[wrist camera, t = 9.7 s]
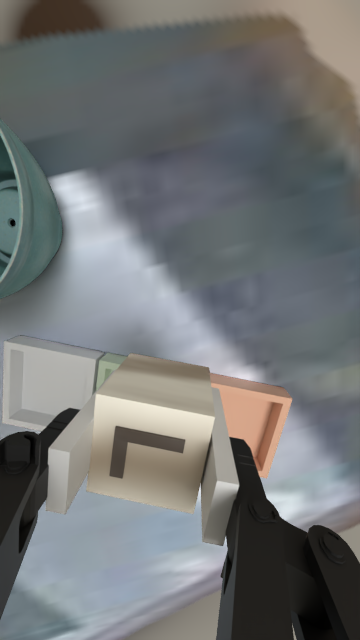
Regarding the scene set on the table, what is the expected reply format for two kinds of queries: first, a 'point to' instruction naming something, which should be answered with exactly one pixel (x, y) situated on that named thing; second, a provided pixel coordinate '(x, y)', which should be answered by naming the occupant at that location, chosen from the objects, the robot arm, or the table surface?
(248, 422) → the box terracotta
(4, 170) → the flower pot
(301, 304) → the table surface
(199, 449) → the letter cube
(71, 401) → the box grey
